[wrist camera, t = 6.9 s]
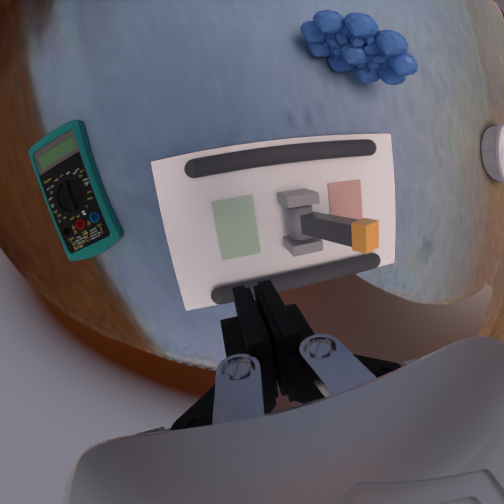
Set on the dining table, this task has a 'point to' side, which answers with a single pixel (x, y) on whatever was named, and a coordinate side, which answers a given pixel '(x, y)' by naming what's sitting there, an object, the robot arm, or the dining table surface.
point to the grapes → (359, 47)
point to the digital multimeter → (74, 192)
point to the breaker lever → (333, 228)
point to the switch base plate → (268, 214)
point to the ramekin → (493, 152)
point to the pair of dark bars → (283, 156)
